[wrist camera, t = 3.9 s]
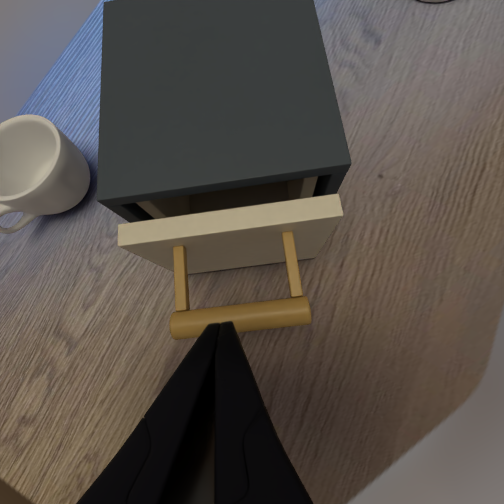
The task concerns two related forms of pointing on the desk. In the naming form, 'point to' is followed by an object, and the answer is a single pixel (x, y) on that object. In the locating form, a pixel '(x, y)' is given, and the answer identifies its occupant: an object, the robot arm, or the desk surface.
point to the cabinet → (214, 100)
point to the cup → (433, 0)
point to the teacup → (38, 170)
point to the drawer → (235, 246)
